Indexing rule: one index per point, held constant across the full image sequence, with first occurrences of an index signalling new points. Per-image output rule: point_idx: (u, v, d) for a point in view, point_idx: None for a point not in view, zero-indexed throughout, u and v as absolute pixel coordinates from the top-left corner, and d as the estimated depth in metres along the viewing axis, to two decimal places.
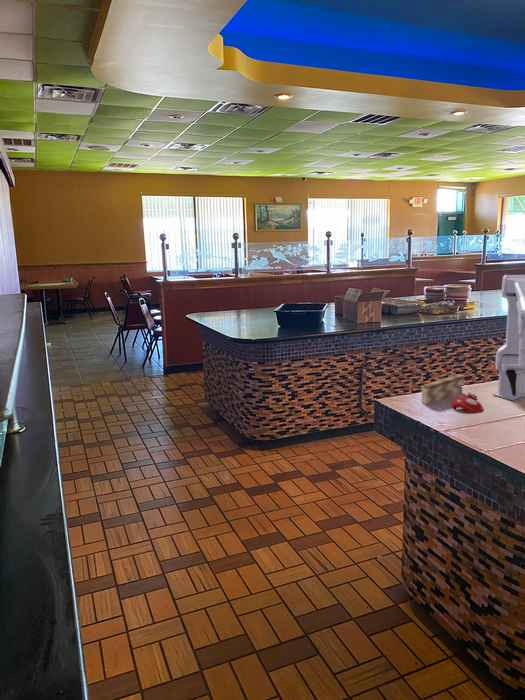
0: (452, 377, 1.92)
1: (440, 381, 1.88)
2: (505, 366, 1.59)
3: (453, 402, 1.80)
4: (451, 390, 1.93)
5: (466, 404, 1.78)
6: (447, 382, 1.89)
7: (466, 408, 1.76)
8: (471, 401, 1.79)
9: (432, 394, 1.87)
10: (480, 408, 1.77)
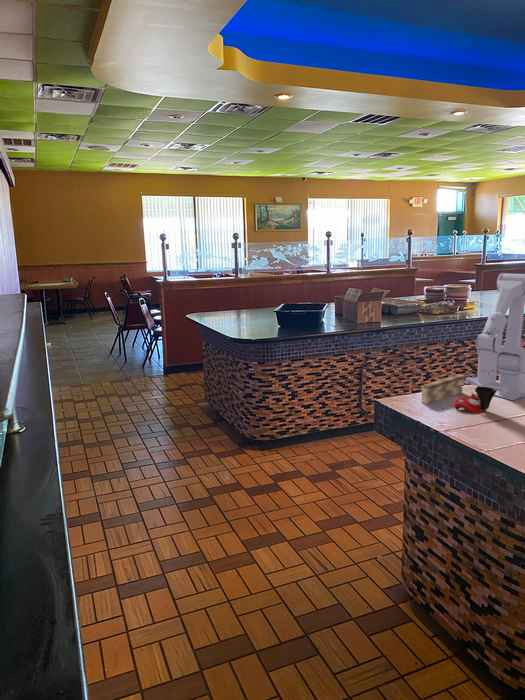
0: (452, 377, 1.92)
1: (440, 381, 1.88)
2: (466, 379, 1.79)
3: (455, 402, 1.80)
4: (451, 390, 1.93)
5: (468, 404, 1.77)
6: (447, 382, 1.89)
7: (467, 408, 1.76)
8: (473, 401, 1.78)
9: (432, 394, 1.87)
10: (482, 409, 1.77)
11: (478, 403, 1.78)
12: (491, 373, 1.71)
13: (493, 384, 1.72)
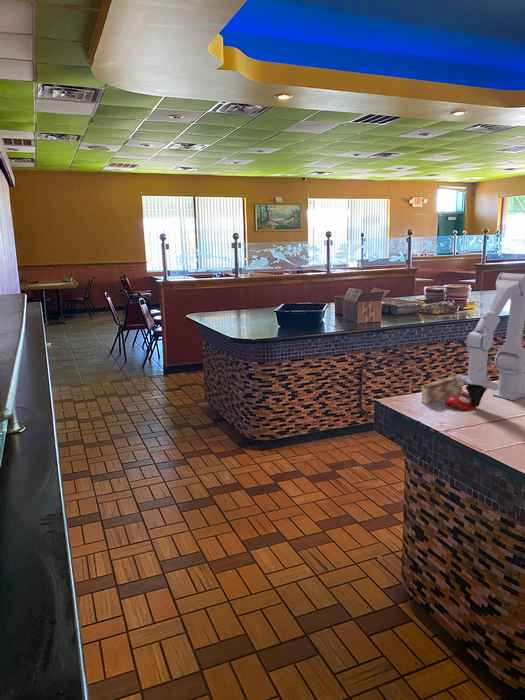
0: (452, 377, 1.92)
1: (440, 381, 1.88)
2: (458, 377, 1.82)
3: (446, 400, 1.82)
4: (451, 390, 1.93)
5: (458, 402, 1.80)
6: (447, 382, 1.89)
7: (458, 406, 1.79)
8: (464, 399, 1.81)
9: (432, 394, 1.87)
10: (472, 406, 1.79)
11: (468, 401, 1.80)
12: (481, 371, 1.74)
13: (483, 382, 1.75)
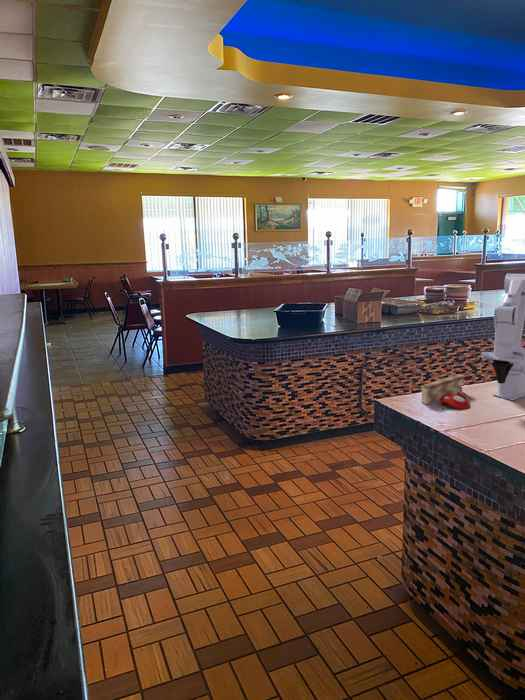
0: (452, 377, 1.92)
1: (440, 381, 1.88)
2: (483, 354, 1.78)
3: (441, 399, 1.84)
4: (451, 390, 1.93)
5: (453, 401, 1.81)
6: (447, 382, 1.89)
7: (452, 405, 1.80)
8: (458, 398, 1.82)
9: (432, 394, 1.87)
10: (467, 405, 1.80)
11: (463, 400, 1.82)
12: (508, 346, 1.70)
13: (510, 357, 1.71)
